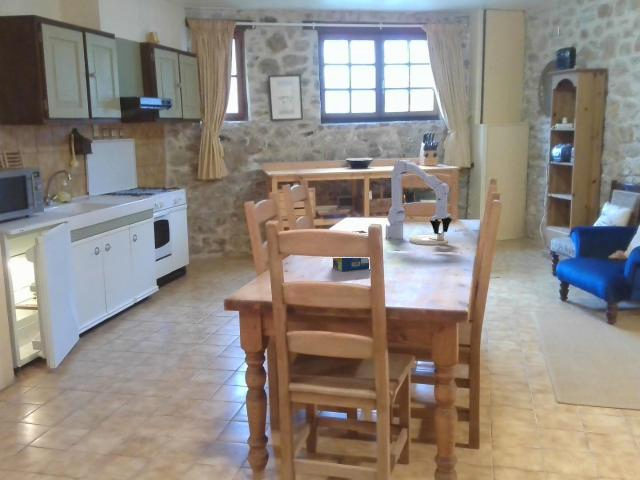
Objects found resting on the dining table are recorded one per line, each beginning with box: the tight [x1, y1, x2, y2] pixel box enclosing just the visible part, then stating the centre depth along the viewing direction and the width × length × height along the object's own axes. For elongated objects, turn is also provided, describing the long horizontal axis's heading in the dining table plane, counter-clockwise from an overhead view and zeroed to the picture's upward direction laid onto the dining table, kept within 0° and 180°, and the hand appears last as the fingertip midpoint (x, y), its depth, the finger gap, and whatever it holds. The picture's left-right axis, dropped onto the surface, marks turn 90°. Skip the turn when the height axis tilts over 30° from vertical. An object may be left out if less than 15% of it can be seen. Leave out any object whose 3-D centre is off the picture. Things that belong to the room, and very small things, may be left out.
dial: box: [408, 230, 449, 246], centre depth 321 cm, size 20×20×6 cm
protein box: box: [332, 230, 369, 272], centre depth 269 cm, size 10×15×16 cm
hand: (440, 232), depth 315 cm, fingers open, 7 cm apart
